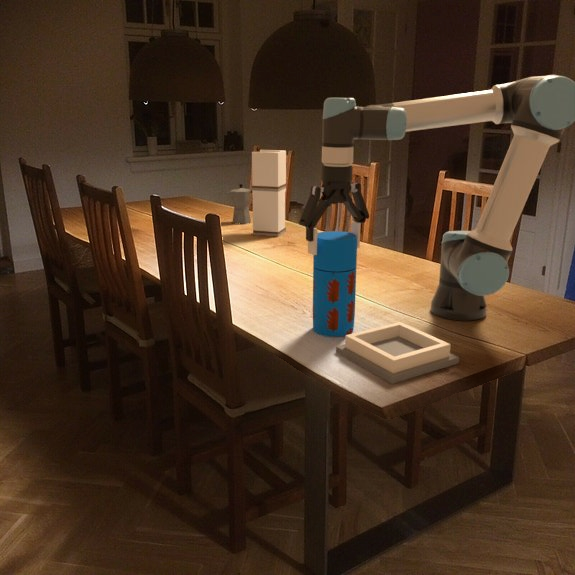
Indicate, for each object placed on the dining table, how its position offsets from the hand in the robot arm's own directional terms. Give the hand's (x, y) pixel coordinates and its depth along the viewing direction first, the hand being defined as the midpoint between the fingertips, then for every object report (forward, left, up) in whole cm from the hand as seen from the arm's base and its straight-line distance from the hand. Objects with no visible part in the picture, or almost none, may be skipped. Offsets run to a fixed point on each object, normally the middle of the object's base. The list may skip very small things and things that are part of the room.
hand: (334, 250), depth 158 cm
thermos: (0, 0, -21) cm, 21 cm away
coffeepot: (+22, -141, -21) cm, 144 cm away
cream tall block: (+11, -116, -21) cm, 118 cm away
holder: (-12, +19, -21) cm, 31 cm away
